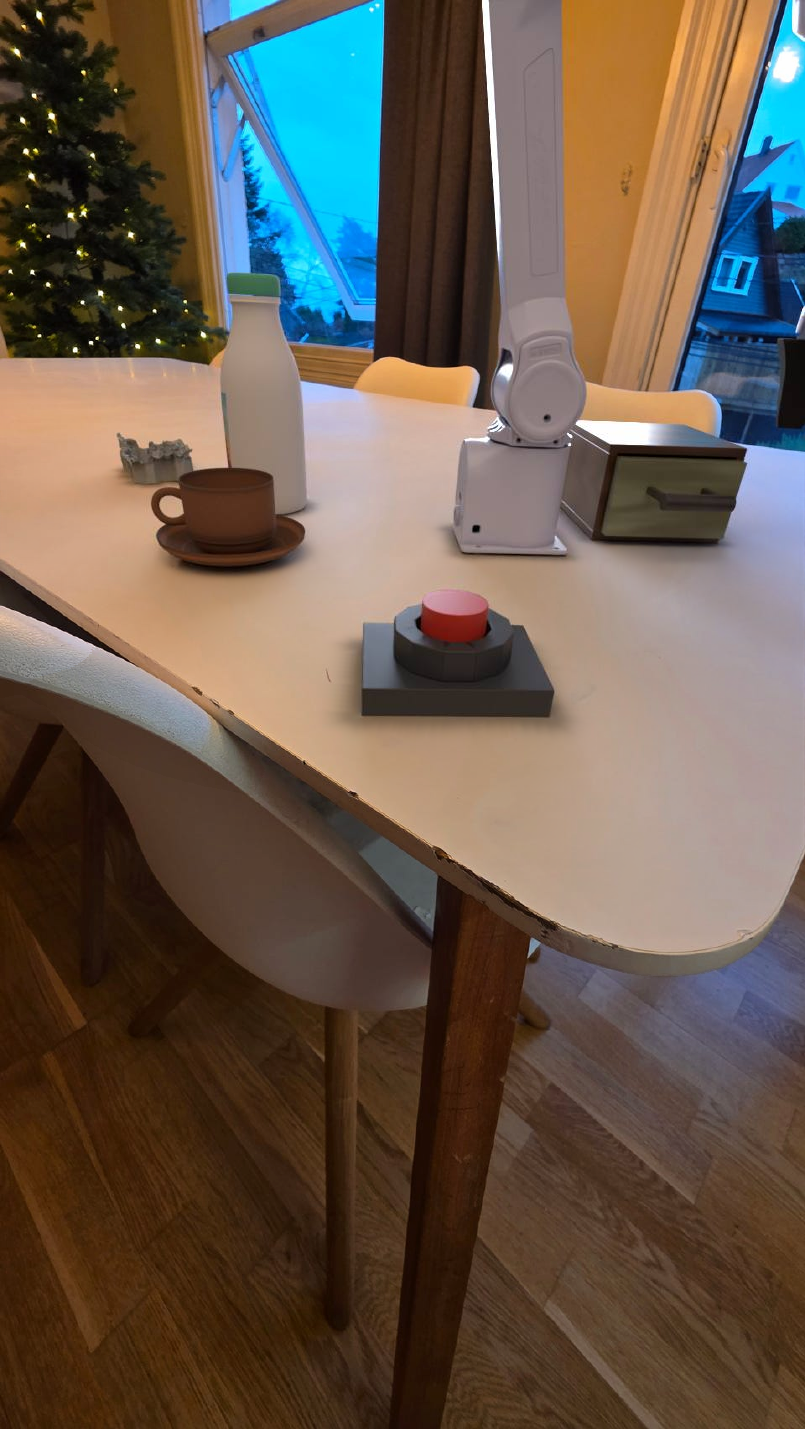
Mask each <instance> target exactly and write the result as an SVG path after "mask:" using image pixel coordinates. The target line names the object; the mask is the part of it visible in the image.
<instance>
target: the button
mask: <svg viewBox="0 0 805 1429" xmlns="http://www.w3.org/2000/svg"><path fill="white" fill-rule="evenodd" d="M421 604H422V612H421V632H422V633H424V634H425V635H427V636H428V637H431V638H435V639H439V640H443V641H447V642H469V641H473V640H477V639H480V638H484V636H485V633H486V624H487V616H488V608H489V607H490V604H489V601H488V600H487V599H486V598H485V597H484V596H482V595H480V594H479V593H478V594H477V593H475V592H472V591H468V590H461V589H439V590H435V591H431V592H429V593H427V594H425V595H424V596H423V597H422V599H421Z"/></svg>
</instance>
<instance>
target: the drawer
mask: <svg viewBox="0 0 805 1429" xmlns="http://www.w3.org/2000/svg"><path fill="white" fill-rule="evenodd" d="M747 466H748V462H746V461H745V460H744V461H742V460H725V459H724V458H722V457H707V456H676V455H646V454H617V458H616V463H615V467H614V472H613V477H612V481H611V486H610V491H609V496H608V500H607V505H606V510H605V514H604V519H603V526H602V531H601V532H602V533H603V534H604V535H605V536H628V537H668V538H708V539H719V540H723V539H724V538H725V534H726V532H727V528H728V524H729V522H730V519H731V515H732V512H733V511H734V510H735V509H736V507H737V497H738V494H739V490H740V487H741V484H742V481H743V479H744V475H745V472H746V468H747Z"/></svg>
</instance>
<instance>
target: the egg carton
mask: <svg viewBox="0 0 805 1429" xmlns="http://www.w3.org/2000/svg"><path fill="white" fill-rule="evenodd" d="M116 438H117V439H118V447H119V449H120V450H119V457H120V462H121V464H122V467H123V471H125V472H127V475H128V476H130V477H131V478H132V479H133V483H134V484H144V485H150V484H156V485H157V484H158V483H163V482H168V481H169V482H170V481H171V482H173V481H177V482H178V478H179V477H180V476H181V475H183V474H185V473H188V472H191V471H194V464H193V459H192V456H191V455H190V454H191V453H192V452H193V448H190V447H189V445H188V444H185V443H184V441H183V439H181V438H178V439H174V440H162V442H161V443H154V441H153V440H150V441H149V442H148V447H145V448H144V447H143V448H142V447H140V445H139V444H138V443H137V440H136V439H134V438H130V437H129V438H125V437H123V436H122V434H121V432H117V433H116Z"/></svg>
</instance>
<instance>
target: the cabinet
mask: <svg viewBox="0 0 805 1429" xmlns="http://www.w3.org/2000/svg"><path fill="white" fill-rule="evenodd" d="M568 434H570V435H571V436H572V441H571V446H570V452H569V458H568V464H567V469H566V475H565V481H564V487H563V493H562V498H561V504H560V509H562V511H564V513H565V514H566V515H567V516H568V517H569V518H570V519H571V520H572V521H573V522H574V523H575V524H576V526H578V527H579V529H580V530H581V531H582V532H584V534H585V535H586V536H587V537H588V538H589V539H590V540H591V541H627V542H629V541H632V542H633V541H634V542H670V543H671V542H673V543H707V544H708V543H709V544H710V543H712V544H713V543H715V544H718V543H719V541H720V539H708V538H668V537H628V536H605V535H604V534H603V533H602V532H601V531H602V526H603V519H604V514H605V510H606V505H607V500H608V496H609V491H610V486H611V481H612V477H613V472H614V467H615V463H616V458H617V454H646V455H676V456H707V457H722V458H724V459H725V460H742V461H744V462H745V458H746V455H747V452H748V448H747V447H744V446H742V445H739V444H736V443H733V442H731V441H728V440H727V439H724V438H721V437H718V436H715V435H713V434H710V433H708V432H705V431H703V430H700V429H697V428H695V427H691V426H689V425H687V424H682V423H681V424H677V423H676V424H675V423H654V422H651V423H650V422H625V421H599V420H598V421H593V420H578V422H577V423H576V424H575V426H574V427H573V428H572V429H571V430H570V431H569V432H568Z"/></svg>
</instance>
